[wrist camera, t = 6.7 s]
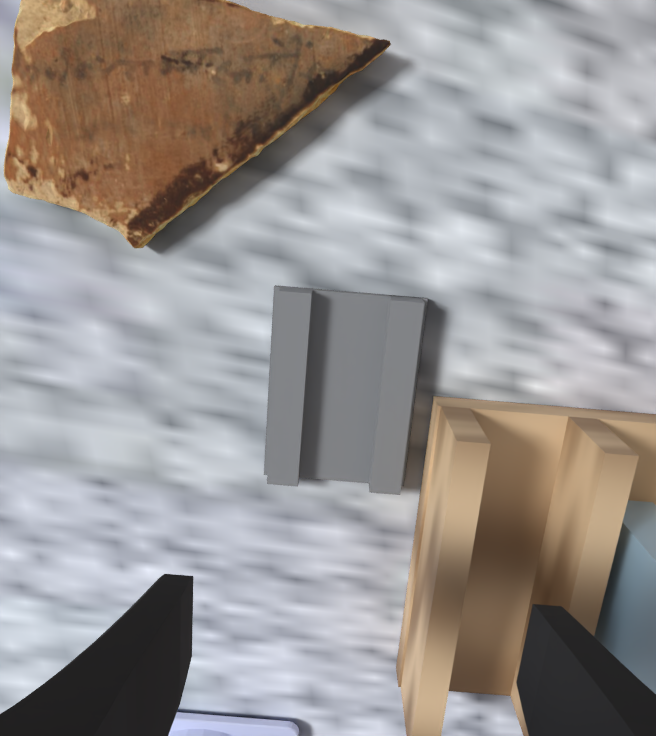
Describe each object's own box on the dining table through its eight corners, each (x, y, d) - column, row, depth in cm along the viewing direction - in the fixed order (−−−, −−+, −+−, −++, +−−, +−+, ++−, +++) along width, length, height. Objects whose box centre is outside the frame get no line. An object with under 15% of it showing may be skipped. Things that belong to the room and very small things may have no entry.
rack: (740, 695, 25) (812, 786, 21) (396, 667, 25) (406, 754, 21) (832, 428, 22) (938, 480, 18) (433, 396, 22) (453, 440, 18)
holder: (402, 482, 23) (405, 495, 22) (264, 470, 23) (261, 483, 22) (426, 298, 21) (430, 303, 20) (275, 285, 21) (271, 290, 20)
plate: (617, 640, 23) (708, 789, 17) (570, 637, 23) (646, 784, 17) (652, 502, 22) (766, 616, 16) (602, 498, 21) (697, 611, 16)
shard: (387, 52, 19) (392, 38, 17) (333, 287, 21) (332, 296, 19) (44, -34, 18) (14, -56, 17) (25, 216, 21) (-4, 219, 19)
